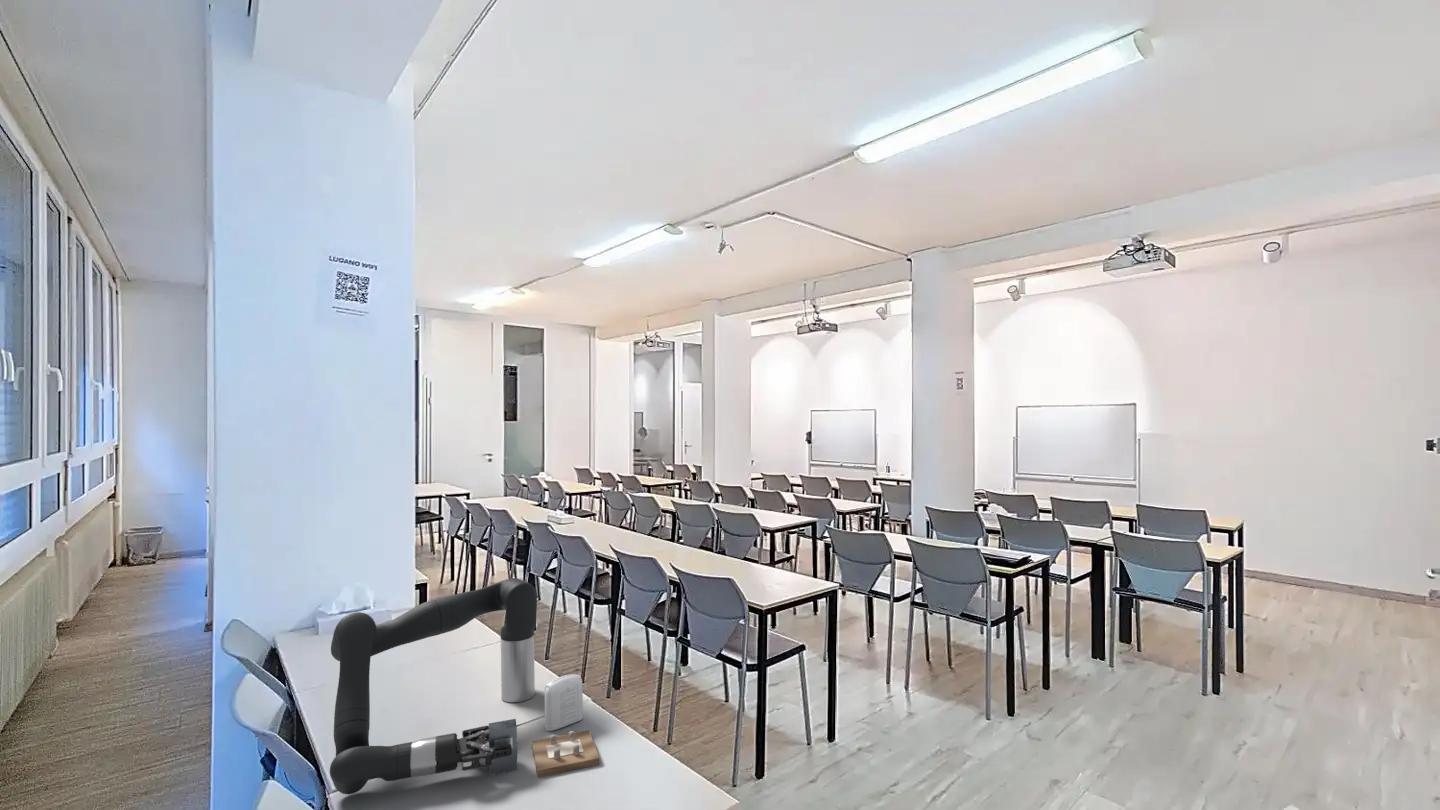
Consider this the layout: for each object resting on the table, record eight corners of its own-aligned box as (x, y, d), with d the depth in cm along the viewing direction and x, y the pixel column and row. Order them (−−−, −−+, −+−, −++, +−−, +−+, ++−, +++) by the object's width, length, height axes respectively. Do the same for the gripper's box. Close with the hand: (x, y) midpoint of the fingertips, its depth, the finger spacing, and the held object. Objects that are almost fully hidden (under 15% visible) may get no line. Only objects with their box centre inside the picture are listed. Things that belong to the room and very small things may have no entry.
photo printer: (576, 714, 178) (576, 668, 178) (585, 719, 175) (584, 673, 175) (542, 727, 171) (541, 680, 171) (550, 733, 167) (549, 685, 167)
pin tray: (531, 747, 161) (531, 732, 161) (589, 736, 166) (588, 722, 166) (537, 777, 148) (537, 761, 148) (599, 764, 153) (599, 749, 153)
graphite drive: (489, 766, 153) (488, 723, 153) (516, 761, 155) (515, 718, 155) (489, 775, 149) (489, 731, 149) (517, 770, 151) (516, 726, 151)
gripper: (435, 756, 153) (508, 742, 159) (433, 789, 140) (512, 772, 146) (435, 723, 153) (508, 711, 159) (432, 754, 140) (512, 739, 146)
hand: (510, 740), depth 152 cm, fingers open, 8 cm apart
